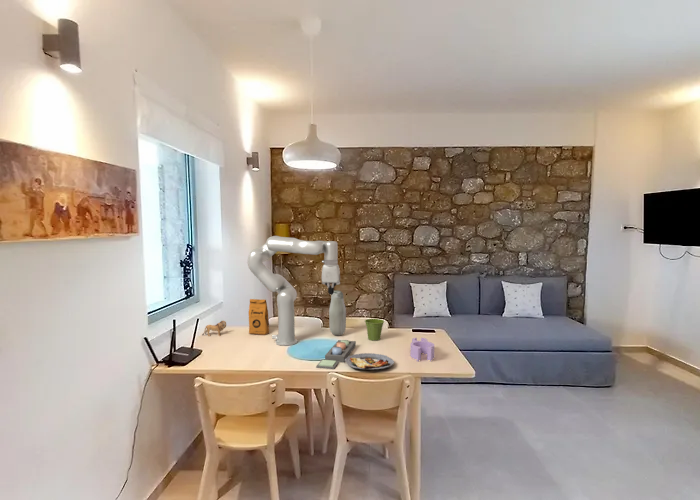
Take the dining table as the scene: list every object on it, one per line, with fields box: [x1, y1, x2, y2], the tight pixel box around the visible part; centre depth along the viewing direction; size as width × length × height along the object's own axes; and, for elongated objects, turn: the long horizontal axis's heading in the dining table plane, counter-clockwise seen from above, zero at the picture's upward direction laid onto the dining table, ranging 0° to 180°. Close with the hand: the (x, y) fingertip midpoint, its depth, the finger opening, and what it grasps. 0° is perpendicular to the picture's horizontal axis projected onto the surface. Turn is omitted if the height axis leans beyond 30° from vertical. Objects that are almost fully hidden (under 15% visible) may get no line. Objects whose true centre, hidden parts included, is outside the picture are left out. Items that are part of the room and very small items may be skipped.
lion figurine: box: [201, 320, 227, 337], centre depth 270 cm, size 15×5×9 cm, turn 104°
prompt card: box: [315, 359, 340, 370], centre depth 217 cm, size 9×9×1 cm
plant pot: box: [364, 318, 385, 341], centre depth 262 cm, size 12×12×11 cm
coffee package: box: [248, 298, 270, 336], centre depth 274 cm, size 10×12×22 cm
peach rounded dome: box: [337, 342, 346, 350], centre depth 235 cm, size 5×5×4 cm
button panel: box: [324, 339, 357, 363], centre depth 235 cm, size 10×28×3 cm, turn 167°
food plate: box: [344, 352, 395, 371], centre depth 218 cm, size 25×23×4 cm
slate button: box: [331, 346, 342, 355], centre depth 227 cm, size 5×5×4 cm
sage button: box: [340, 339, 350, 345], centre depth 244 cm, size 5×5×4 cm
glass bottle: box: [328, 289, 347, 336], centre depth 271 cm, size 10×10×28 cm
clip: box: [409, 337, 435, 362], centre depth 232 cm, size 20×12×7 cm, turn 0°
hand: (331, 294), depth 251 cm, fingers closed
